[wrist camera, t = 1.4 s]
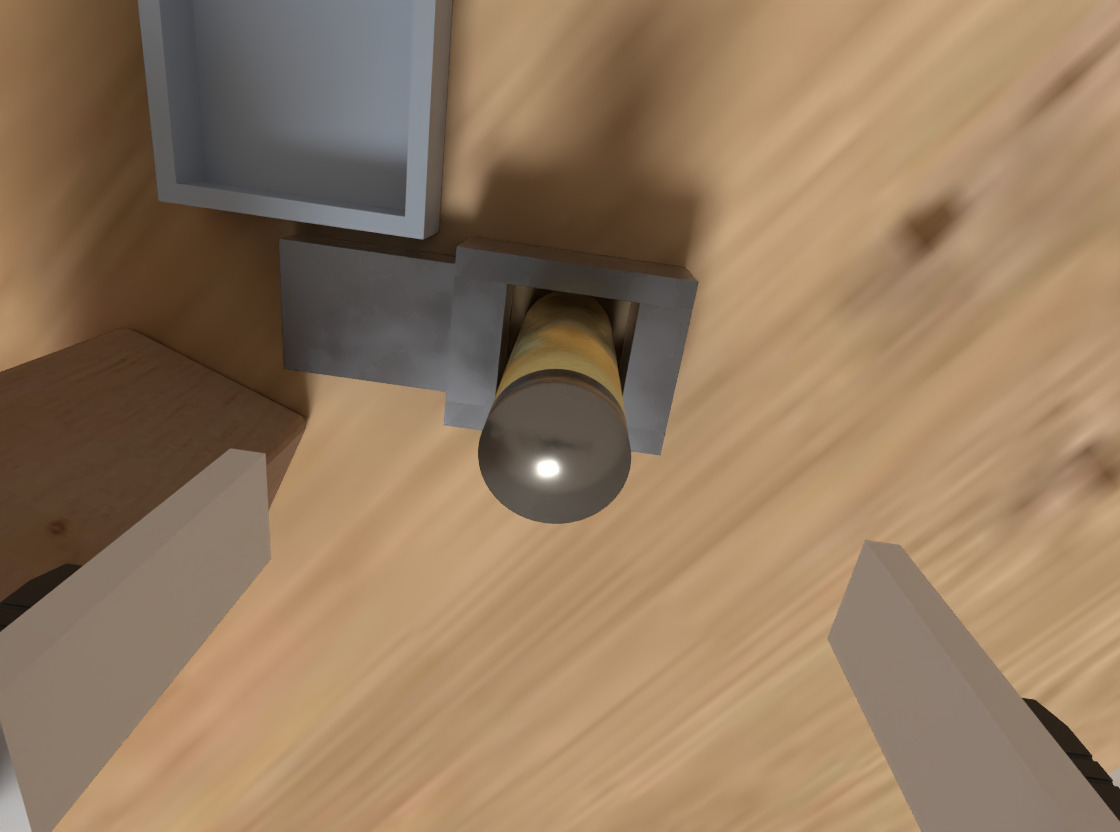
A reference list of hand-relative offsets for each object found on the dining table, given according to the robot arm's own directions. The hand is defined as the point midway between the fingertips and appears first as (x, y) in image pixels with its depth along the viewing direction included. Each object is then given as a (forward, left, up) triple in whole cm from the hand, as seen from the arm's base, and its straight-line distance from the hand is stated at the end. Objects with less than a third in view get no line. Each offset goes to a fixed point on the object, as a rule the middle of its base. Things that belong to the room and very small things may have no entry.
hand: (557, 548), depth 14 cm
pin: (0, 0, -18) cm, 18 cm away
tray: (-12, +9, -18) cm, 24 cm away
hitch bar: (-4, 0, -18) cm, 19 cm away
